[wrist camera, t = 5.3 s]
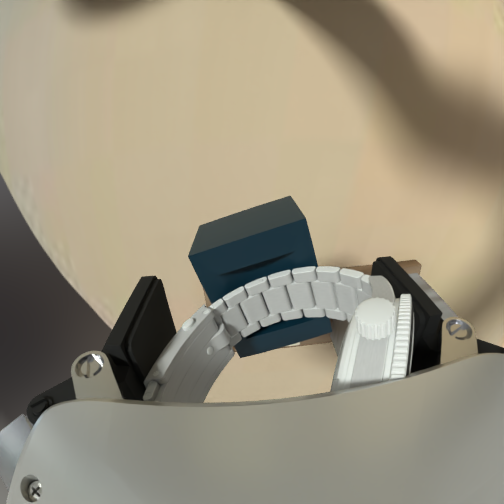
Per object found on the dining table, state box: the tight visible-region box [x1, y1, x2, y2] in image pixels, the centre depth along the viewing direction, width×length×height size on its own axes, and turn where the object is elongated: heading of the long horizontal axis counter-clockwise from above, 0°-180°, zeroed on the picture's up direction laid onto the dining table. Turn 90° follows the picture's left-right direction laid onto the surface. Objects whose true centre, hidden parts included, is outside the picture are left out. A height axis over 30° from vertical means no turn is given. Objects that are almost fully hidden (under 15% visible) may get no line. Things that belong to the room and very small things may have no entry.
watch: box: [143, 196, 414, 403], centre depth 9 cm, size 6×8×11 cm
